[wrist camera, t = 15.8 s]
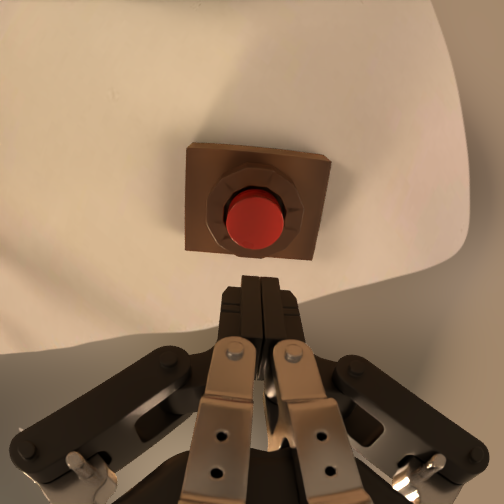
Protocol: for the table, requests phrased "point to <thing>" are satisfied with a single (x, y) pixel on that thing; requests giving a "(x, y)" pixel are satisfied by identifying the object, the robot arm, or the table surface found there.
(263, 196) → the button
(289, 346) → the robot arm
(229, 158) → the button block
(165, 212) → the table surface
